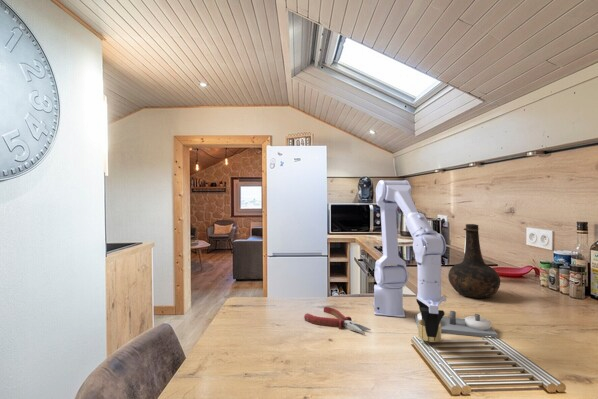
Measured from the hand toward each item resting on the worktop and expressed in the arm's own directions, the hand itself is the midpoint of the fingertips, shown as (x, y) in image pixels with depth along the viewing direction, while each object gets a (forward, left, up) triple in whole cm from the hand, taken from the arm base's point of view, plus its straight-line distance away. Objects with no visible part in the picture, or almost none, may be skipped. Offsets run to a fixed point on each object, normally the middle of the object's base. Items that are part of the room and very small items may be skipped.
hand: (429, 331), depth 79 cm
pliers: (-26, +5, -4) cm, 27 cm away
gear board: (+8, +12, -3) cm, 15 cm away
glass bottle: (+23, +48, -3) cm, 53 cm away
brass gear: (0, 0, -1) cm, 1 cm away
